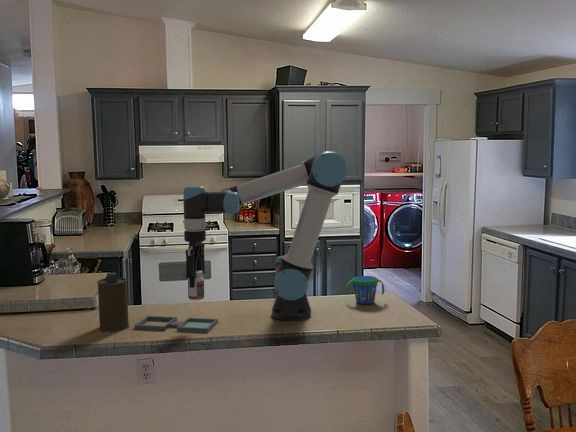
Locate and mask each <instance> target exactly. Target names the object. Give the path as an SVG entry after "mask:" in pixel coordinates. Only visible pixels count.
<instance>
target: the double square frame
mask: <svg viewBox="0 0 576 432" xmlns="http://www.w3.org/2000/svg"><path fill="white" fill-rule="evenodd" d="M149 321H158V322H159V321H161V322H162V321H163V322H166V323H165V324H164V325H153V324H152V325H151V324H146V323H147V322H149ZM218 323H219V319H218V318H208V317H207V318H205V317H204V318H202V317H201V318H200V317H187V318H186V319H185V320H183V321H179V320H178V317H177V316H160V315H159V316H158V315H147V316H146V317H144V318H143V319H141V320H140V321H138V322H137V323H136V324H134V326H133V327H134V330H148V331H166V330H168V329H169V328H175V329H176V331H177V332H187V333H189V332H191V333H209V332H211V331H212V329H214V328H215V326H216V325H217V324H218Z"/></svg>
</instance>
